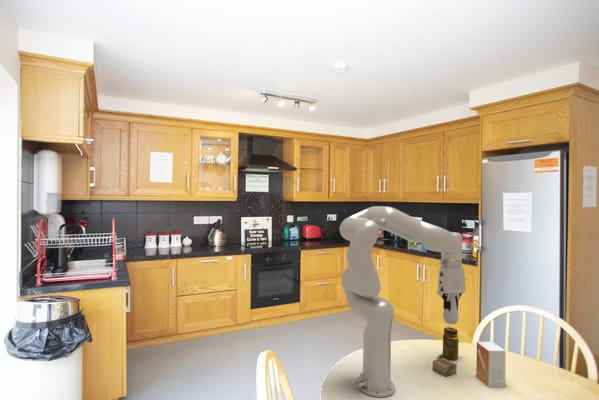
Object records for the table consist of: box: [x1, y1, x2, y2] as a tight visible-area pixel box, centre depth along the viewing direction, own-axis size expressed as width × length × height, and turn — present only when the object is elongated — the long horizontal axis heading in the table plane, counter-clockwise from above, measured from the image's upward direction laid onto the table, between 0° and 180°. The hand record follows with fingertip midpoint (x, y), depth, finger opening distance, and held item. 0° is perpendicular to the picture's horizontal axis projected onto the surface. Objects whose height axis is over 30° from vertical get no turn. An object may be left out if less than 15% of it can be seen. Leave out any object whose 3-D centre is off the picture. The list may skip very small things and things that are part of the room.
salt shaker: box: [442, 293, 460, 325], centre depth 137 cm, size 6×6×13 cm
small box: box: [475, 341, 506, 388], centre depth 126 cm, size 8×6×13 cm
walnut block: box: [432, 358, 457, 378], centre depth 133 cm, size 6×6×4 cm
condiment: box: [436, 326, 463, 364], centre depth 145 cm, size 7×8×12 cm
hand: (450, 309), depth 137 cm, fingers closed on salt shaker, 3 cm apart
